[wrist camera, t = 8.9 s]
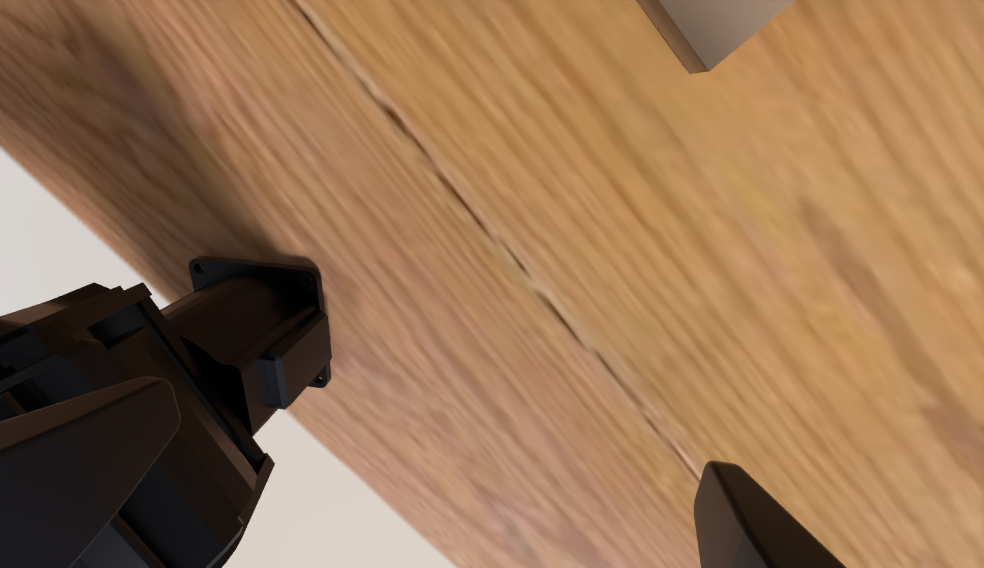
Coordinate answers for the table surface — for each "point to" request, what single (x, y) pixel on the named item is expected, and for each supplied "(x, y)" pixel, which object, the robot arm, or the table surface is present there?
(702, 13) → the walnut plinth
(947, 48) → the table surface
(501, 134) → the table surface
